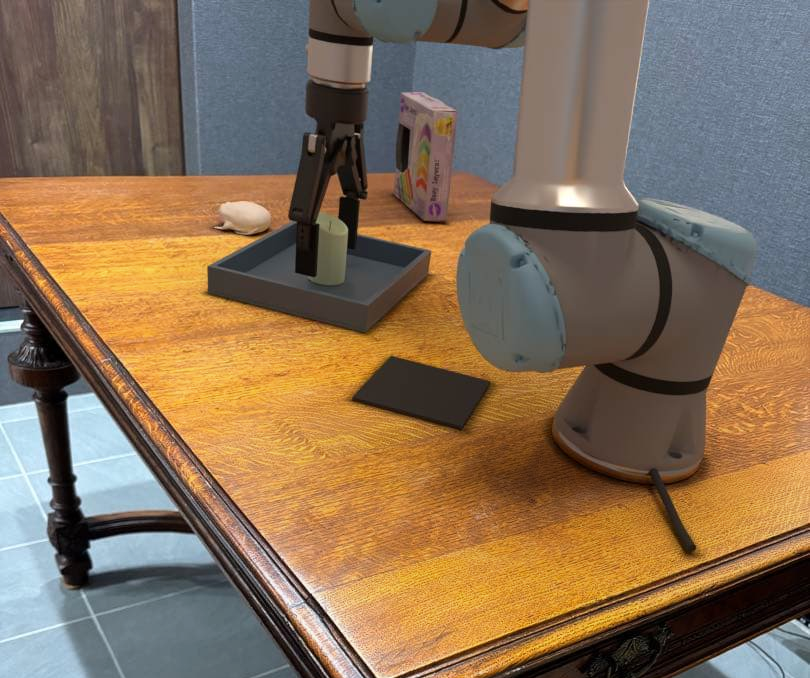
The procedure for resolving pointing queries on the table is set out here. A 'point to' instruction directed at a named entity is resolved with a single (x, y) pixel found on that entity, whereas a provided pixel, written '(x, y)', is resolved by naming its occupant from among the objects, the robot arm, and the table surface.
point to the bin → (295, 294)
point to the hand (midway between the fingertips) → (326, 260)
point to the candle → (331, 251)
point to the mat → (423, 392)
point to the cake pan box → (425, 155)
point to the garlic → (244, 217)
